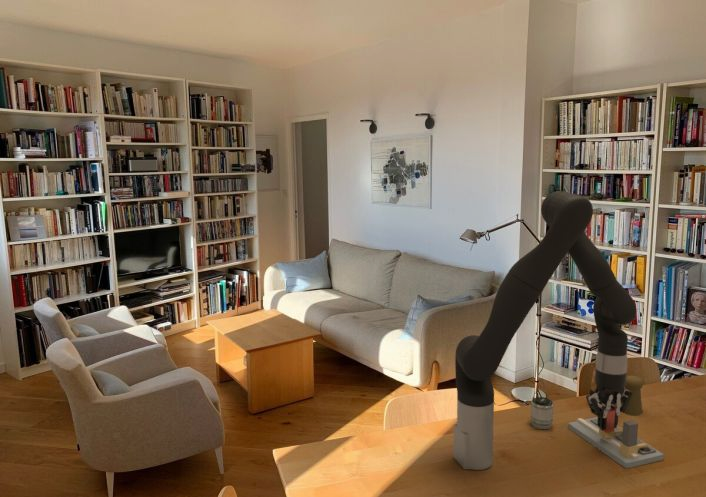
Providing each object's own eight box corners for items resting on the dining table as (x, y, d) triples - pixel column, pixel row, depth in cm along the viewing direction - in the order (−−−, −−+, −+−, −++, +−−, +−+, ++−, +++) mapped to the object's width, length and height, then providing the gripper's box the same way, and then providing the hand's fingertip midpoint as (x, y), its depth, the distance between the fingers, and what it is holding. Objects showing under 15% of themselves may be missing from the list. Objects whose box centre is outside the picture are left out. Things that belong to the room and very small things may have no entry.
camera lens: (526, 425, 159) (527, 400, 157) (535, 417, 163) (536, 393, 162) (547, 432, 155) (548, 406, 153) (556, 424, 159) (557, 399, 158)
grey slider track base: (626, 468, 136) (628, 430, 134) (567, 427, 157) (569, 394, 155) (663, 459, 140) (666, 422, 138) (601, 420, 160) (603, 387, 159)
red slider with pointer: (605, 440, 145) (607, 412, 144) (598, 435, 148) (600, 408, 146) (627, 435, 147) (628, 408, 146) (619, 431, 150) (621, 404, 148)
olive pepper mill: (643, 409, 167) (645, 375, 165) (641, 417, 162) (644, 382, 160) (621, 404, 170) (623, 371, 168) (619, 412, 165) (621, 378, 163)
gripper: (599, 376, 138) (596, 439, 141) (643, 369, 142) (639, 430, 145) (579, 366, 145) (576, 425, 148) (621, 359, 149) (617, 417, 152)
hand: (607, 427), depth 146 cm, fingers closed on red slider with pointer, 3 cm apart
